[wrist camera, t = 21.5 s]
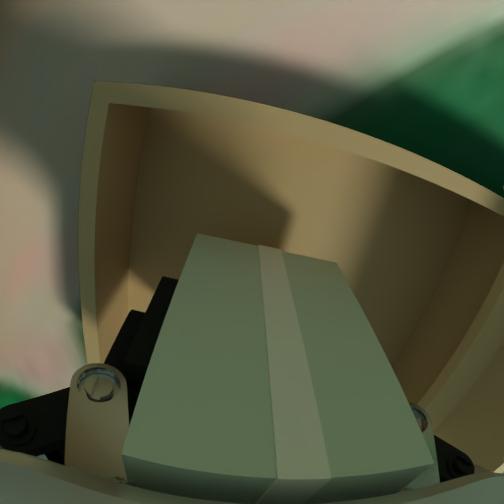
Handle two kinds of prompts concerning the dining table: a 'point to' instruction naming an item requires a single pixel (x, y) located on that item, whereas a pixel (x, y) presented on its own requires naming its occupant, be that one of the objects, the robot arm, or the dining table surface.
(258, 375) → the gift block
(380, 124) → the dining table surface
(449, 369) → the lid
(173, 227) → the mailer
